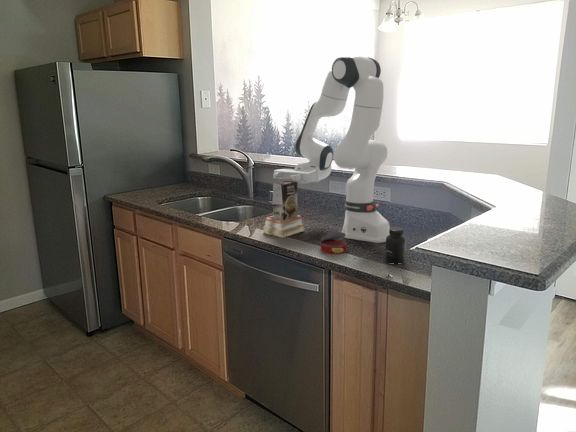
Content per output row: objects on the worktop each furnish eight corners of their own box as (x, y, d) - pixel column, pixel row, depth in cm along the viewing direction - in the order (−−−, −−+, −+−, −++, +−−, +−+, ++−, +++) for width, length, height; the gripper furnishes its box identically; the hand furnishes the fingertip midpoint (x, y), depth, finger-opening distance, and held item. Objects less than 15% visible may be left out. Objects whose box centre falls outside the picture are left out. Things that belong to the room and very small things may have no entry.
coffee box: (283, 222, 191) (283, 184, 187) (272, 220, 195) (272, 182, 191) (298, 218, 197) (298, 181, 194) (287, 216, 202) (286, 180, 198)
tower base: (303, 230, 199) (303, 215, 197) (282, 237, 189) (282, 222, 188) (284, 226, 206) (284, 212, 204) (263, 233, 196) (263, 217, 195)
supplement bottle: (383, 263, 158) (384, 230, 155) (386, 257, 164) (387, 225, 161) (403, 266, 155) (405, 232, 153) (405, 259, 162) (407, 227, 159)
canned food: (322, 264, 171) (310, 241, 170) (330, 254, 180) (318, 231, 179) (349, 255, 166) (336, 231, 164) (355, 244, 174) (343, 221, 173)
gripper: (285, 164, 208) (264, 168, 197) (322, 167, 194) (301, 171, 184) (286, 178, 209) (265, 182, 199) (322, 182, 196) (301, 186, 186)
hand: (282, 177), depth 191 cm, fingers open, 8 cm apart
